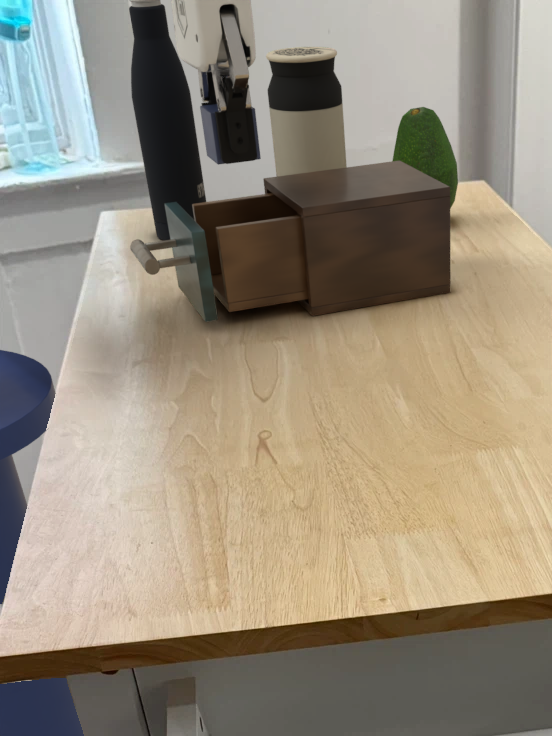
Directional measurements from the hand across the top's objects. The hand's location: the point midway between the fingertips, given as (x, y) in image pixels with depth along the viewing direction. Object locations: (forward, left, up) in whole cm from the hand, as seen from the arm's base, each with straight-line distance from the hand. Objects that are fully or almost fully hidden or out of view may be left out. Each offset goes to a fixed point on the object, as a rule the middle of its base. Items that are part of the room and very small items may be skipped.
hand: (232, 153), depth 92 cm
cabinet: (+12, 0, -13) cm, 18 cm away
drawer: (-1, 0, -12) cm, 12 cm away
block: (0, 0, 0) cm, 0 cm away
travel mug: (+14, +20, -13) cm, 28 cm away
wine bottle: (0, +28, -13) cm, 31 cm away
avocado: (+27, +18, -13) cm, 35 cm away
